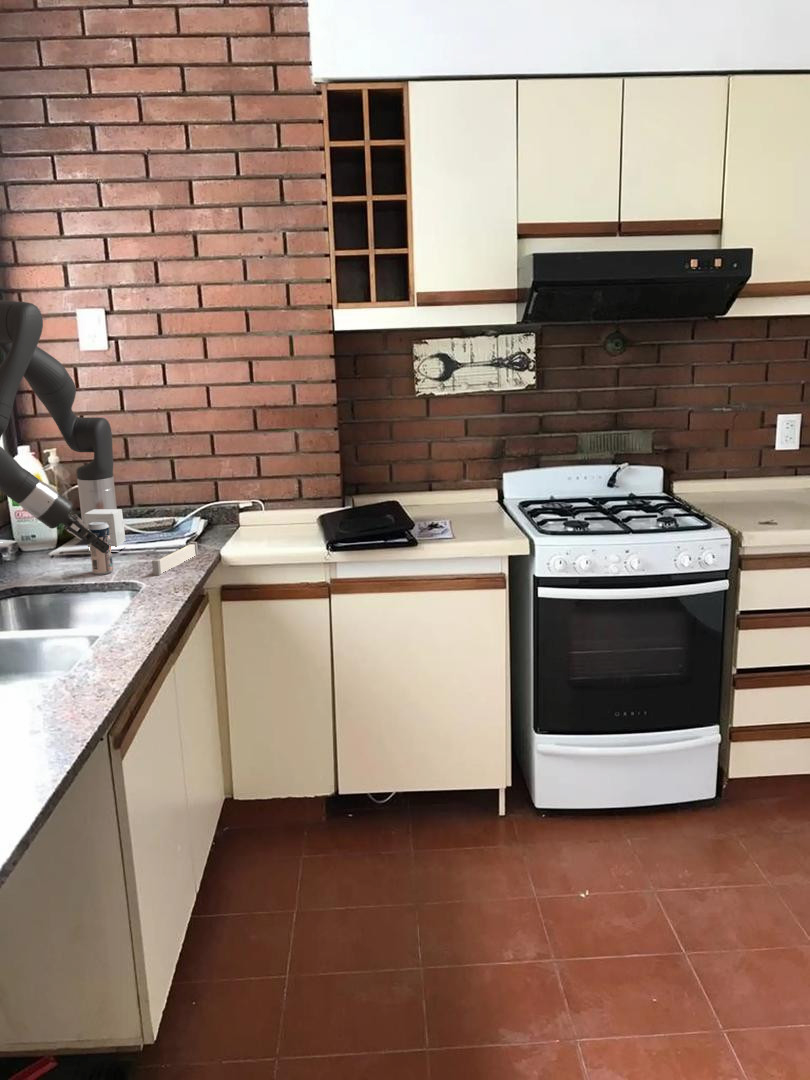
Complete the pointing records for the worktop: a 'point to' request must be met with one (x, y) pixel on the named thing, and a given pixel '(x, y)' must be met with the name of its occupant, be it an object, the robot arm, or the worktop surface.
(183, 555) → the rail
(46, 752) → the worktop surface
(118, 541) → the small box
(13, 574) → the worktop surface
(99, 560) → the beige blue canister
